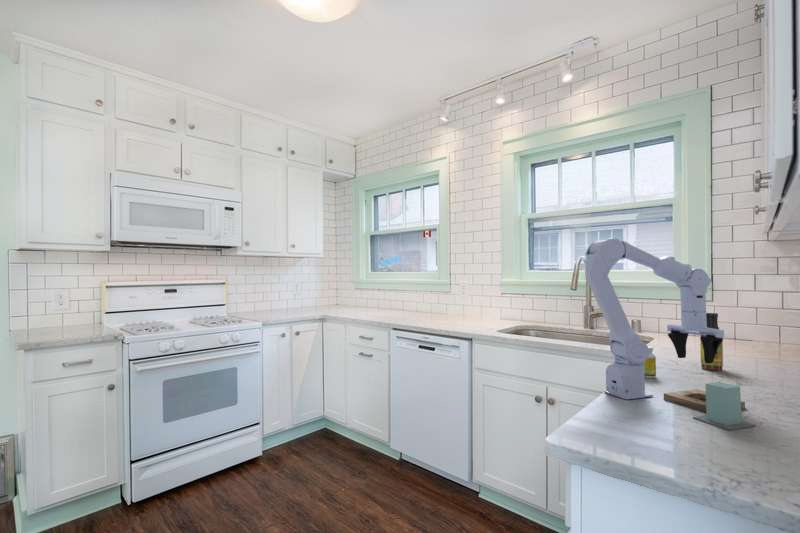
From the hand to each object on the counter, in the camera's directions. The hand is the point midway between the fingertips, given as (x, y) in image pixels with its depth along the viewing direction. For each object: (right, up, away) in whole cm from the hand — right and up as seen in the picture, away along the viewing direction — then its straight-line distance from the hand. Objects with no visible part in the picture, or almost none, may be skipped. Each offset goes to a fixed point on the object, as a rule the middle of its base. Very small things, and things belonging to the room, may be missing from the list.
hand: (695, 360), depth 112 cm
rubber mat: (-9, -9, -22) cm, 25 cm away
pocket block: (-4, -9, -8) cm, 13 cm away
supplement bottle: (-1, -10, +20) cm, 23 cm away
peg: (-9, -9, -22) cm, 25 cm away
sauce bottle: (+28, -10, +29) cm, 41 cm away
